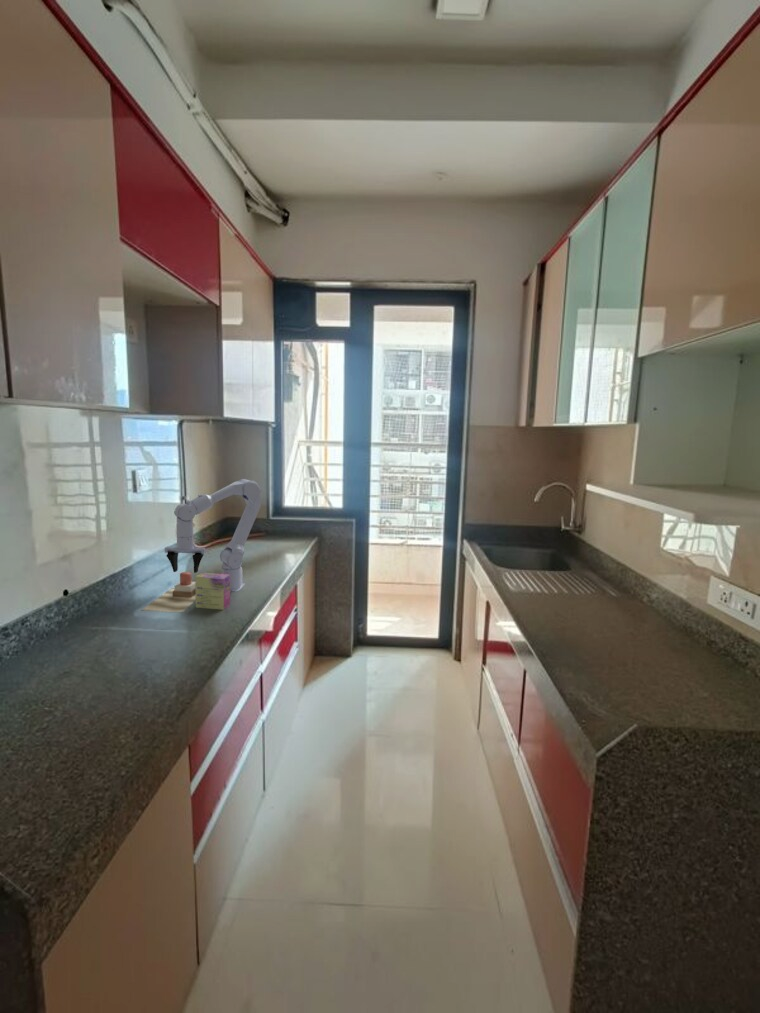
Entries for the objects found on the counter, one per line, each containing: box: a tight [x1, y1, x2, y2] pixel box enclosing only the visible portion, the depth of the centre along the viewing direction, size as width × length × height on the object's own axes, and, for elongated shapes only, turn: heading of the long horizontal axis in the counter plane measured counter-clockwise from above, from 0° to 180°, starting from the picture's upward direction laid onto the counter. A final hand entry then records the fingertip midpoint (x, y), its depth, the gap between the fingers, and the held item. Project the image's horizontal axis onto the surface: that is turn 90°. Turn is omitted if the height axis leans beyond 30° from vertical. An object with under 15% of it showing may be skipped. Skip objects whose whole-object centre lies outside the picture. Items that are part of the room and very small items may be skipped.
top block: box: [173, 581, 196, 592], centre depth 177 cm, size 6×6×2 cm
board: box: [140, 587, 196, 613], centre depth 172 cm, size 24×14×1 cm, turn 0°
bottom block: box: [173, 588, 196, 597], centre depth 177 cm, size 7×7×2 cm
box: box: [195, 572, 231, 611], centre depth 166 cm, size 10×6×12 cm, turn 84°
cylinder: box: [179, 571, 193, 585], centre depth 177 cm, size 4×4×4 cm
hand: (185, 571), depth 176 cm, fingers open, 7 cm apart
